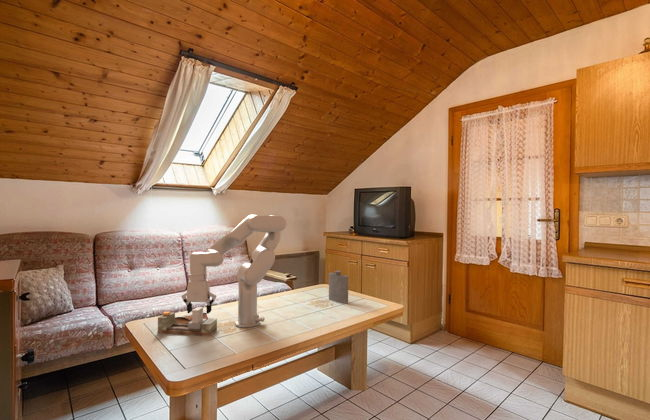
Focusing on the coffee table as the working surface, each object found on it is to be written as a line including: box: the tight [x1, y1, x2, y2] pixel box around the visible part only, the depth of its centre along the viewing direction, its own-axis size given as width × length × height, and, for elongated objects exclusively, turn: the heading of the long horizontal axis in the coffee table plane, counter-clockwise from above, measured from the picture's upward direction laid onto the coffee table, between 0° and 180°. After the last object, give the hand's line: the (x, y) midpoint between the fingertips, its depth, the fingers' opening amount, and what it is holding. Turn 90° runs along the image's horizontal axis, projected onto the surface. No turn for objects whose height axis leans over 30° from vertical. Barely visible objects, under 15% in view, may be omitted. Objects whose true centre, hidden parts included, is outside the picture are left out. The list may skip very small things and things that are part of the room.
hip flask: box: [328, 270, 349, 305], centre depth 218 cm, size 16×4×20 cm, turn 46°
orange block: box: [162, 311, 171, 316], centre depth 164 cm, size 3×3×5 cm
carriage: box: [188, 306, 207, 329], centre depth 162 cm, size 6×7×8 cm
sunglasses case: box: [175, 312, 209, 324], centre depth 175 cm, size 18×7×7 cm
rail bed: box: [157, 311, 218, 337], centre depth 163 cm, size 26×8×8 cm, turn 84°
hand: (199, 312), depth 163 cm, fingers open, 9 cm apart
